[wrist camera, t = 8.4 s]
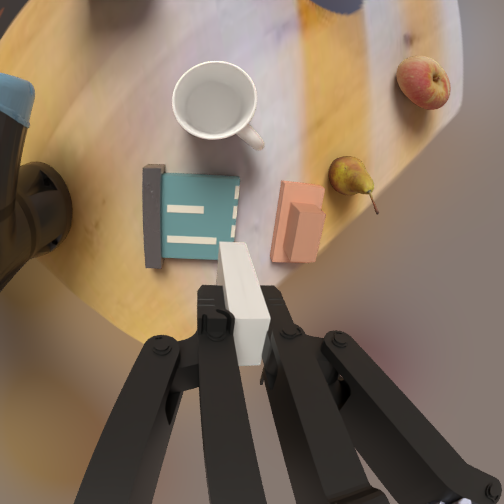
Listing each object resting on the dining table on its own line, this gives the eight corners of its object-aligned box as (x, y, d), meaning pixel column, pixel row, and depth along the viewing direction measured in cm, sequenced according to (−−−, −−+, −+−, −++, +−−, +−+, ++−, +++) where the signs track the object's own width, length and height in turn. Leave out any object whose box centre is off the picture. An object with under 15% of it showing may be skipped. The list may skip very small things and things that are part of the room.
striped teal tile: (147, 250, 40) (144, 256, 38) (145, 172, 35) (142, 175, 33) (231, 254, 42) (232, 260, 40) (238, 176, 37) (240, 179, 35)
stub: (269, 255, 43) (278, 277, 38) (281, 180, 38) (293, 191, 32) (305, 257, 44) (318, 277, 39) (320, 185, 39) (337, 196, 33)
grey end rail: (149, 257, 40) (145, 267, 38) (148, 164, 34) (142, 168, 31) (164, 258, 41) (161, 268, 38) (165, 164, 35) (160, 168, 32)
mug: (276, 126, 34) (299, 128, 25) (232, 166, 36) (239, 182, 27) (215, 66, 29) (216, 45, 20) (170, 108, 31) (154, 102, 22)
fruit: (362, 172, 39) (408, 193, 28) (337, 196, 40) (378, 224, 30) (341, 145, 37) (388, 157, 26) (315, 170, 38) (354, 191, 27)
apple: (416, 116, 35) (448, 120, 28) (380, 84, 33) (411, 82, 25) (431, 81, 32) (462, 81, 25) (397, 48, 29) (428, 42, 22)
